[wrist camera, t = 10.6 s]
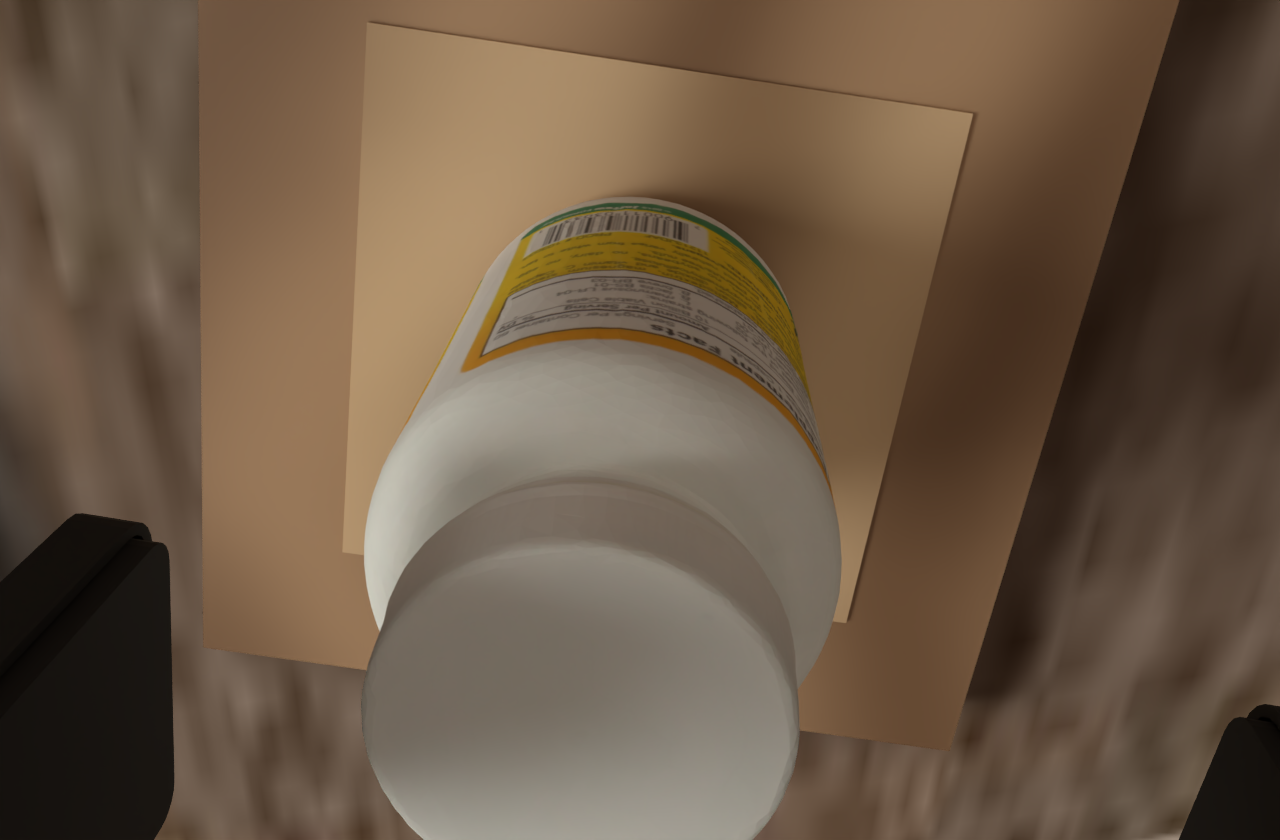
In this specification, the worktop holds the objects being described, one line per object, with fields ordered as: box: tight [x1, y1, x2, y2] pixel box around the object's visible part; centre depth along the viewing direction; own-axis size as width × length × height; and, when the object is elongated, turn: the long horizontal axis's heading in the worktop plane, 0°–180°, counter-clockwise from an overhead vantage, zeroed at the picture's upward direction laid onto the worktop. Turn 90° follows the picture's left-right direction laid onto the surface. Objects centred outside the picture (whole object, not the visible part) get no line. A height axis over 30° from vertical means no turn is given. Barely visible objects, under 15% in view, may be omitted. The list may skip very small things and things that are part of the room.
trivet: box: [198, 0, 1179, 751], centre depth 20 cm, size 14×14×2 cm
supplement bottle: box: [361, 197, 842, 840], centre depth 15 cm, size 5×5×10 cm
